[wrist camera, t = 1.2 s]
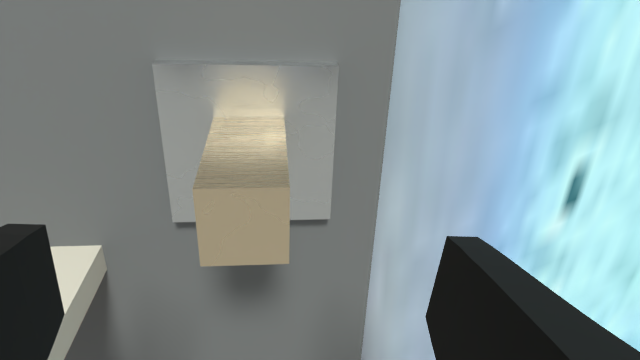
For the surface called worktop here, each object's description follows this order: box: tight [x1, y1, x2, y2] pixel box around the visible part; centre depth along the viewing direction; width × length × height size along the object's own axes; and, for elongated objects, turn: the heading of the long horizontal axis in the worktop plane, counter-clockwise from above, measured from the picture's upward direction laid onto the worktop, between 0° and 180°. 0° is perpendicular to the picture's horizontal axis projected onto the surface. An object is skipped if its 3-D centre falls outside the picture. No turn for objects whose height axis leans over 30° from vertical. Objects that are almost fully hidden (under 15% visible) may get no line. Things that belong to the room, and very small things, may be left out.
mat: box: [0, 0, 401, 360], centre depth 19 cm, size 20×20×1 cm
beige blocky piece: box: [152, 59, 339, 267], centre depth 15 cm, size 6×6×6 cm
